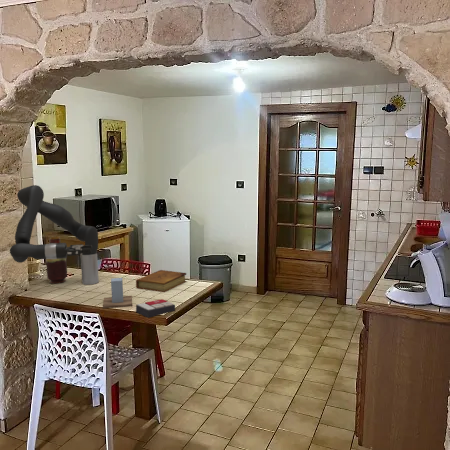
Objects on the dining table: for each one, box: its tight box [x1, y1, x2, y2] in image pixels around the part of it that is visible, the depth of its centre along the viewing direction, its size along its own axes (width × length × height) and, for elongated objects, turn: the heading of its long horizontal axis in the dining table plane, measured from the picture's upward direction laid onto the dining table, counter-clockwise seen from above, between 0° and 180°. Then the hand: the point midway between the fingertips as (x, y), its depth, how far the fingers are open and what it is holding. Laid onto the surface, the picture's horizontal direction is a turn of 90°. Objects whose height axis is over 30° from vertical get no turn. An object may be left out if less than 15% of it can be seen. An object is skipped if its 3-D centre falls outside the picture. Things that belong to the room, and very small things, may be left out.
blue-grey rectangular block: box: [110, 277, 124, 303], centre depth 230 cm, size 5×5×11 cm
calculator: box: [135, 298, 176, 319], centre depth 218 cm, size 11×4×15 cm
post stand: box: [102, 295, 133, 309], centre depth 231 cm, size 14×14×8 cm
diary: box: [135, 269, 188, 293], centre depth 262 cm, size 23×19×6 cm
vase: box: [45, 236, 68, 285], centre depth 269 cm, size 11×11×26 cm
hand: (91, 249), depth 225 cm, fingers open, 8 cm apart
